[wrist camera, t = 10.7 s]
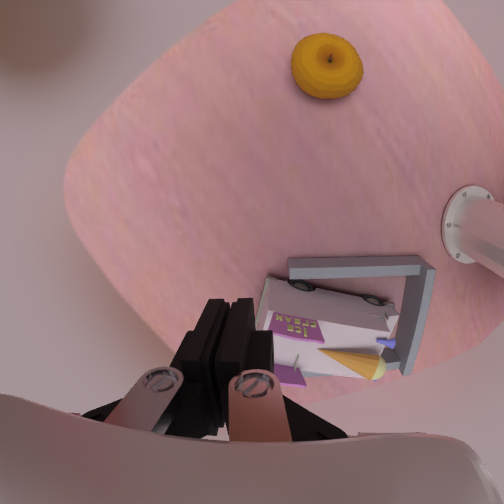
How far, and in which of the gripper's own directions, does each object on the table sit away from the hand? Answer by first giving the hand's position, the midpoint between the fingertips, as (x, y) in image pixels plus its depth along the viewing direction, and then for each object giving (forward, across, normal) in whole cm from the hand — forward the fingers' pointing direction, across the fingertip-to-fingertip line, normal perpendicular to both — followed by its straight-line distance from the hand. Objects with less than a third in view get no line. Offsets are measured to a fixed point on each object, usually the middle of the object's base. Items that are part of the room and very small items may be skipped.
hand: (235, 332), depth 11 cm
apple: (+30, -9, -18) cm, 36 cm away
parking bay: (+30, -12, +16) cm, 36 cm away
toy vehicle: (+30, -8, +15) cm, 35 cm away
